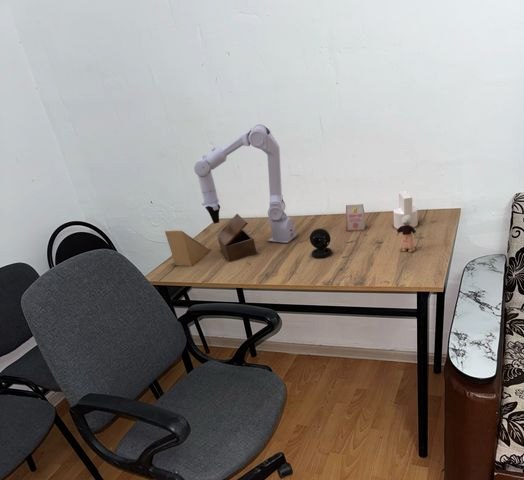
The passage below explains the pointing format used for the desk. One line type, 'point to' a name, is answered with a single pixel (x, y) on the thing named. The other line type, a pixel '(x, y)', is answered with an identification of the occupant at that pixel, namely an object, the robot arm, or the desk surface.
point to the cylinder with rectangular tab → (405, 210)
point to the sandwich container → (185, 248)
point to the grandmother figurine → (407, 234)
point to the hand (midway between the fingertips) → (216, 222)
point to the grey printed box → (355, 217)
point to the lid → (232, 229)
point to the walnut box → (238, 246)
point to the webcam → (320, 243)
